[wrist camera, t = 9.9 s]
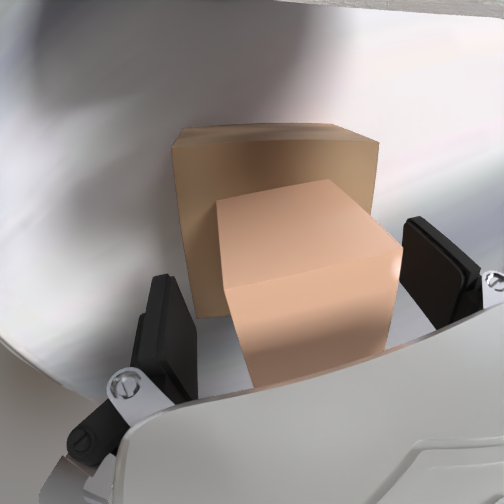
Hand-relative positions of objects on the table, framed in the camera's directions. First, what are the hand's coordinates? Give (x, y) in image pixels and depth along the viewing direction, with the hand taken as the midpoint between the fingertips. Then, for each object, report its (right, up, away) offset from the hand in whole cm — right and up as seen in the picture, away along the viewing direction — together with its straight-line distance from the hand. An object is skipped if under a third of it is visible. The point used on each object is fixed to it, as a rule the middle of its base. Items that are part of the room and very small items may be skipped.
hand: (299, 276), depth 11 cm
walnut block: (-1, +5, +8) cm, 9 cm away
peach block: (0, +2, +3) cm, 3 cm away
